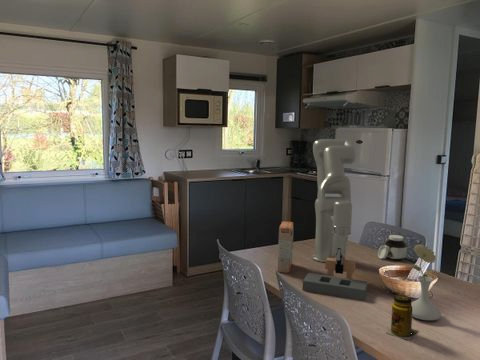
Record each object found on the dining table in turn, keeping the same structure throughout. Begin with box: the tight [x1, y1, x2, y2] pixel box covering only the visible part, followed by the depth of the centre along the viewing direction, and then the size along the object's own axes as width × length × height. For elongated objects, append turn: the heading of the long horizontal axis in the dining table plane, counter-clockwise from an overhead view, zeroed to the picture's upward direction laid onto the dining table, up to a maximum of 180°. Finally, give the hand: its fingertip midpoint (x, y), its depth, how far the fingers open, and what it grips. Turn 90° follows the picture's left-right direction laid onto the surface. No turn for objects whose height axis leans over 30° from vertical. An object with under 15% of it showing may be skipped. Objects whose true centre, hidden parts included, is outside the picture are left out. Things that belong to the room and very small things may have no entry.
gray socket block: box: [302, 272, 368, 301], centre depth 166 cm, size 10×24×4 cm, turn 67°
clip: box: [324, 257, 356, 279], centre depth 177 cm, size 4×12×9 cm, turn 67°
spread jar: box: [377, 234, 408, 262], centre depth 208 cm, size 12×11×12 cm
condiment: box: [386, 294, 418, 341], centre depth 132 cm, size 7×8×12 cm
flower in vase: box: [411, 244, 442, 321], centre depth 144 cm, size 13×11×25 cm
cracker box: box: [277, 221, 294, 274], centre depth 192 cm, size 14×6×21 cm, turn 168°
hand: (340, 271), depth 177 cm, fingers closed on clip, 4 cm apart
